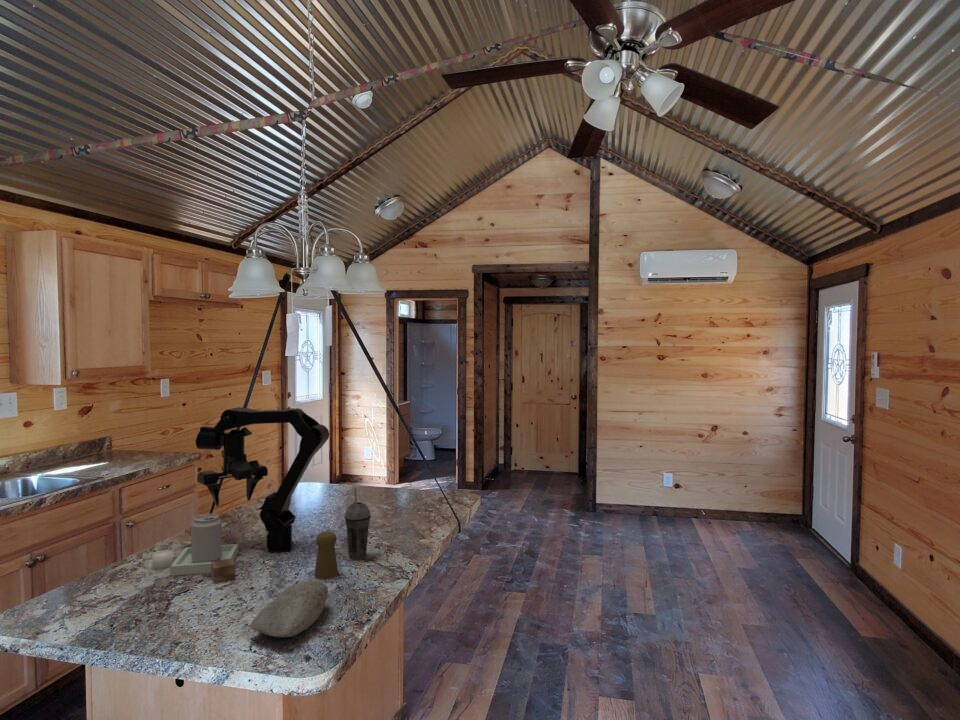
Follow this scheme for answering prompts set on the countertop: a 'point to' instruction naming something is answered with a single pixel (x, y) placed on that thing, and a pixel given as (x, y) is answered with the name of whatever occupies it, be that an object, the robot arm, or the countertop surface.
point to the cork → (326, 556)
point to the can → (206, 538)
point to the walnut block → (223, 570)
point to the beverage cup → (357, 529)
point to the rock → (292, 610)
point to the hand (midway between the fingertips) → (233, 503)
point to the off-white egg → (162, 559)
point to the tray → (188, 566)
